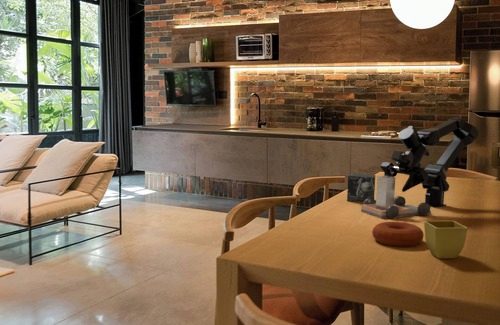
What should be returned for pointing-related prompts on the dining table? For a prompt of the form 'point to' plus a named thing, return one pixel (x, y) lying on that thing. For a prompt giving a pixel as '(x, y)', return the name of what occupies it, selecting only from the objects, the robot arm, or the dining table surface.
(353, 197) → the box
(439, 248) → the flower pot
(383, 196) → the block
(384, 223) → the donut
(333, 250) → the dining table surface
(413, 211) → the chassis
